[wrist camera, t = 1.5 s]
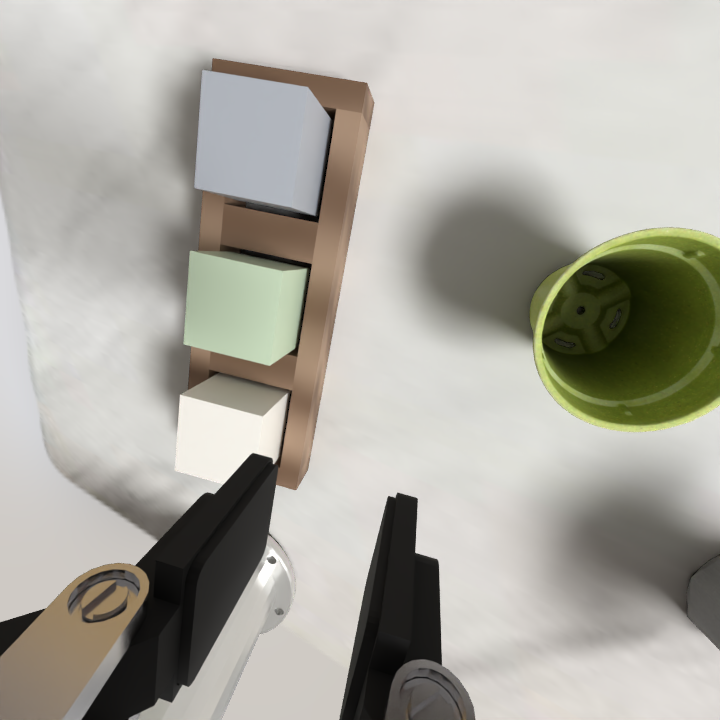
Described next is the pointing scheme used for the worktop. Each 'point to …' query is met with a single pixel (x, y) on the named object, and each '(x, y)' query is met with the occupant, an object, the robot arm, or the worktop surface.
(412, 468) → the worktop surface
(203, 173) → the grey button
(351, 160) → the button housing
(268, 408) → the white button
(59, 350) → the worktop surface
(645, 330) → the plant pot
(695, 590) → the coffeepot
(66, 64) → the worktop surface
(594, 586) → the worktop surface
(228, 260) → the sage button
